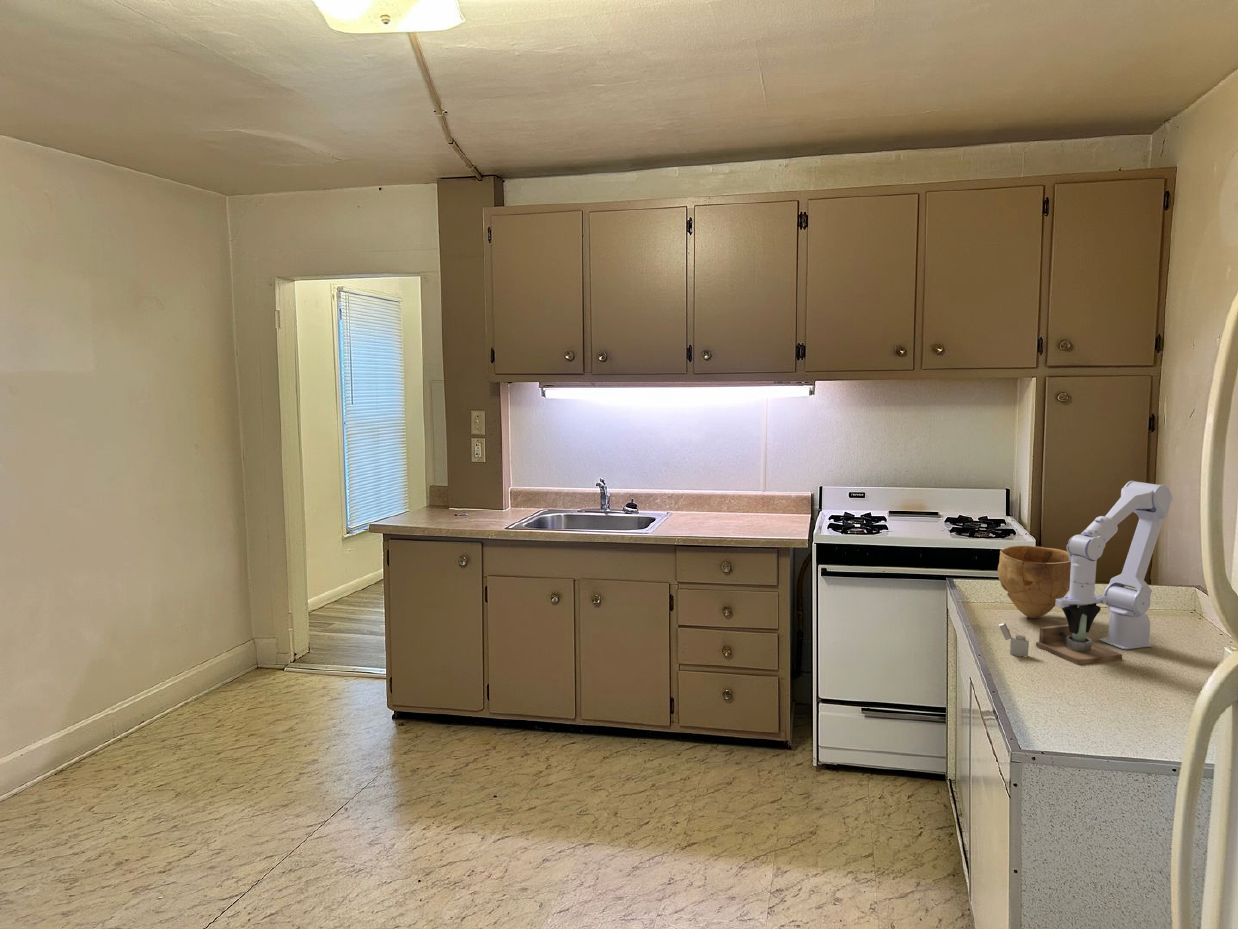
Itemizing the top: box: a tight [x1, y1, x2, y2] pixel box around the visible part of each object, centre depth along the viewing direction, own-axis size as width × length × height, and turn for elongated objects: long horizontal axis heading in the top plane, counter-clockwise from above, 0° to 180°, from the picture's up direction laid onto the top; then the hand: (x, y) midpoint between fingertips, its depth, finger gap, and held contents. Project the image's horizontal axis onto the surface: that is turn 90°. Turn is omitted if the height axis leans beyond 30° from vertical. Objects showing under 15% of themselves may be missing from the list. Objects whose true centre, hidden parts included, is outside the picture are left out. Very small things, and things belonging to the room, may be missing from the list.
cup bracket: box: [1035, 623, 1123, 666], centre depth 217 cm, size 14×14×5 cm
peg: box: [1072, 614, 1087, 642], centre depth 216 cm, size 3×3×7 cm
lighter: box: [998, 622, 1030, 658], centre depth 216 cm, size 7×2×8 cm, turn 59°
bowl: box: [997, 545, 1071, 619], centre depth 246 cm, size 21×20×20 cm
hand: (1079, 632), depth 216 cm, fingers closed on peg, 3 cm apart
